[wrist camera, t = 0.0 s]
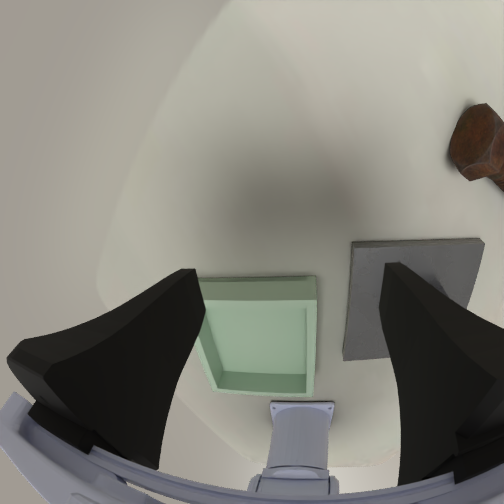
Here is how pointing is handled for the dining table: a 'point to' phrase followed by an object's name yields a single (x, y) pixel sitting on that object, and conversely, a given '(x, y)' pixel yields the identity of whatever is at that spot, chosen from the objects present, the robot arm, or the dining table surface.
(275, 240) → the dining table surface
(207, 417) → the dining table surface
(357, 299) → the stud plate
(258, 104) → the dining table surface
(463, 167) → the bolt
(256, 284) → the parts tray
